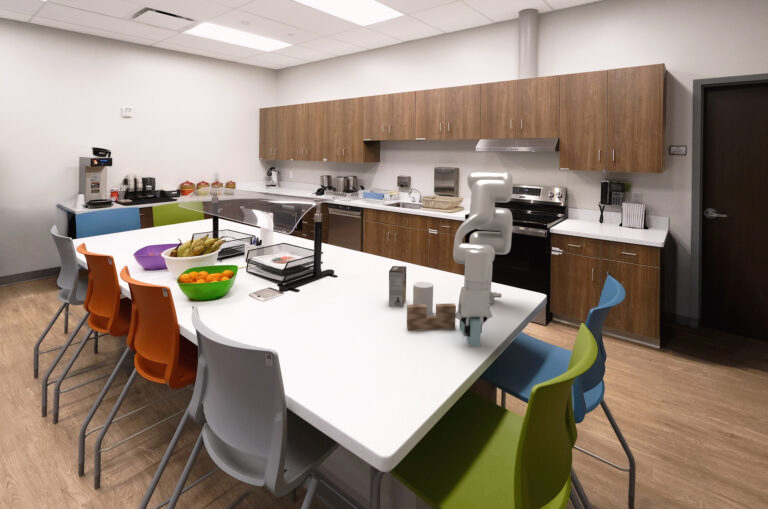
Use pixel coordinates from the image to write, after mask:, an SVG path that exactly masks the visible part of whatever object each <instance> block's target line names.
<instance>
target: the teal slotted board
mask: <svg viewBox="0 0 768 509" xmlns="http://www.w3.org/2000/svg"><path fill="white" fill-rule="evenodd" d="M460 316H461V315H460ZM463 318H464V317H463ZM469 325H470V336H469V337H468V336H467V335H466V334H465V332H464V328H465V324H464V323H463V322H462V321H461V320H459V328H458V329H459V331H460V332H461V333H462V335H463V336H466V341H467V343H468V344H469V345H470V347H473V348H476V347H478V348H479V347H481V336H482V335H481V334H482V333H481V321H480V319H479V318H478V317H470V321H469Z"/></svg>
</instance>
